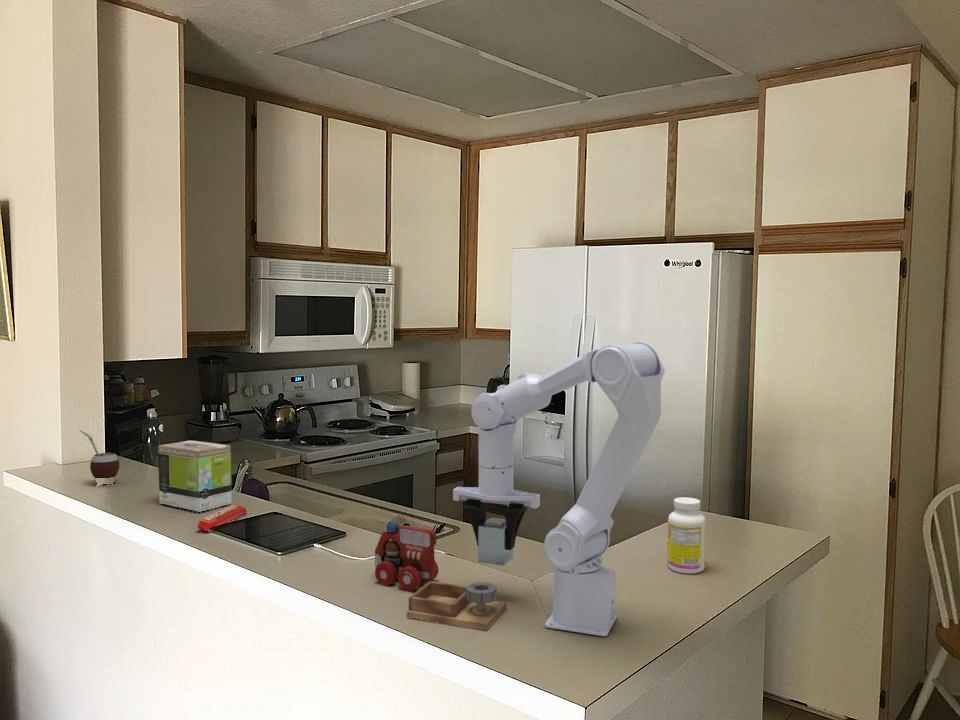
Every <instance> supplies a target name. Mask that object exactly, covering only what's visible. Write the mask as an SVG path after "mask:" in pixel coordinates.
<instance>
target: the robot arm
mask: <svg viewBox="0 0 960 720" xmlns="http://www.w3.org/2000/svg"><path fill="white" fill-rule="evenodd" d="M665 372H666V369H665V367H664V365H663V363H662V359H661V358H660V356H659V354H658V352H657V351H656V349H655V348H654V347H653V346H651V345H650V343H646V342H642V341H641V342H634V343H629V344H627V343H626V344H606V345H603V346H601V347H600V348H598V349H593V350H590V351H587V352H586V353H583V354H581V355H579V356H578V357H576V358H574V359H572V360H570V361H568V362H567V363H565V364H563V365H561V366H560V367H558V368H556V369H553V370H552V371H551V372H548V373H547V374H545V375H540V374H538V373H535V372H533V373H529V372H522V373H520V374H519V375H518V376H517V378H518V379H517V380H515V381H513V382H511V383H509V384H501V385H499V386H497V387H496V388H497V390H496V391H495V392H491V393H489V392H482V393H480V394H479V395H478V396H477V397H475V399H474V400H473V402H472V404H471V408H470V411H471V418H472V420H473V422H474V424H475V425H476V426H477V427H478V487H477V486H474V487H470V486H465V487H464V486H457V487H455V488H453V490H452V501H456V502H460V501H466V502H465V505H464V506H463V511H464V513H465V514H466V516H467V518H468V520H469V521H470V523H471V524H470V525H471V526H472V529H473V533H474V537H475V541H476V546H477V547H478V531H479V525H481V524H482V523H483V522H485V521H486V520H487V518H486V517H487V511H488V509H487V508H488V504H498V505H508V506H507V507H506V508H505V509H503V510H504V519H506V529H507V535H506V547H507V550H511V549H513V550H514V548H515V546H516V545H515V544H516V539H517V534H518V531H519V529H520V526H521V523H522V520H523V518H524V516H525V514H526V512H527V510H528V507H529V508H530V509H538V508H539V507H540V506H541V494H540V493H533V492H528V491H527V492H526V491H523V490H522V491H521V490H517V489H514V435H515V433H516V426H517V423H518V422H519V421H520V420H521V419H522V418H525V417H527V416H529V415H531V414H533V413H536V412H538V411H540V410H542V409H544V408H547V407H548V406H549V405H550V403H551V401H552V396H553V395H556V394H559V393H561V392H562V391H566V390H568V389H570V388H573V387H575V386H579V385H580V384H583V383H586V382H589V383H597V384H598V386H599V387H600V388H601V390H602V391H603V392H604V394H605V395H606V396H607V397H608V399H609V401H611V403H612V404H613V406H614V408H615V409H616V412H617V414H618V415H617V419H616V421H615V423H614V425H613V426H612V429H611V431H610V433H609V436H608V437H607V439H606V440H605V443H604V446H603V447H602V449H601V451H600V453H599V456H598V458H597V460H596V462H595V464H594V466H593V468H592V470H591V472H590V474H589V476H588V478H587V481H586V482H585V484H584V486H583V488H582V490H581V492H580V494H579V497H578V499H577V501H576V502H575V504H574V505H572V507H571V508H570V509H569V510H568V511H567V512H566V513H565V514H564V515H563V516H562V517H561V518H560V520H559V523H558V524H557V525H556V527H554V528H552V529H551V530H550V531H549V532H548V533H547V534H546V536H545V538H544V543H543V547H544V553H545V556H546V558H547V560H548V561H549V562H550V564H551V569H553V577H552V578H553V584H552V586H553V587H552V588H553V589H552V613H551V615H550V616H549V617H548V619H547V620H546V621H545V623H544V627H545V628H548V629H549V628H550V629H554V630H555V629H556V630H561V631H568V632H575V633H580V634H587V635H592V636H593V635H594V636H597V637H599V636H601V637H607V636H608V635H609V633H610V631H611V629H612V627H613V625H614V623H615V621H616V620H617V617H618V616H617V572H616V570H615V569H611V568H607V567H605V566H603V565H602V562H603V554H605V553H606V551H607V550H608V549H609V545H610V543H611V542H610V541H611V540H610V539H611V538H610V536H611V530H612V527H613V526H614V519H612V517H611V515H612V513H613V512H614V509H615V507H616V505H617V503H618V501H619V499H620V497H621V495H622V494H623V491H624V489H625V488H626V485H628V483H629V480H630V478H631V476H632V473H634V471H635V468H636V465H638V462H639V461H640V458H641V457H642V455H643V452H644V450H645V448H646V447H647V444H648V442H649V440H650V439H651V437H652V434H653V433H654V431H655V429H656V427H657V425H658V423H659V422H660V418H661V413H662V412H661V411H662V410H661V408H662V407H661V406H662V405H661V403H662V401H661V400H662V399H661V397H662V396H661V395H662V392H661V391H662V379H663V377H664V374H665Z"/></svg>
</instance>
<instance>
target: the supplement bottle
mask: <svg viewBox="0 0 960 720" xmlns="http://www.w3.org/2000/svg"><path fill="white" fill-rule="evenodd" d="M673 506H674V511H672V512H671V513H670V514H669V515H668V518H667V519H668V520H667V566H668V568H669V569H670V570H672V571H674V572H677V573H682V574H688V575H689V574H690V575H691V574H697V573H702V572H703V570H704V569H705V567H706V566H705V565H706V563H705V562H706V560H705V559H706V558H705V557H706V518H705V516H704V515H703V514H702V513H700V509H701V500H700V499H698V498H694V497H685V496H684V497H683V496H681V497H676V498H674V499H673Z"/></svg>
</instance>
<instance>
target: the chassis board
mask: <svg viewBox="0 0 960 720" xmlns="http://www.w3.org/2000/svg"><path fill="white" fill-rule="evenodd" d="M467 586H468V585H459V584H453V583H447V582H439V581H433V580H431V581H429V582H426V583H425V584H424V585H423V586H421V587H420V588H419V589H417V591H415V592H413V594H411V595H410V596H408V610H407V611H406V618H407V617H411V618H418V619H423V620H428V621H427V622H429V621H434V622H433V623H435V622H438V623H437V624H441V623H443V625H447V624H448V626H455V627H460V628H467V629H473V630H477V631H478V630H479V631H486V632H487V631H488V630H489V629H490V628H491V627H492V626H493V625H494V623H496V621H497V620H498V619H499V618H500V617H501V616H502V615H503V614H504V612H505V611H506V610H507V602H504V601H497V600H494V601H492V602H490V603H484V604H482V603H481V604H480V603H473V602H469V601H468V600H467V599H466V587H467ZM411 618H410V619H411ZM423 620H422V621H423Z"/></svg>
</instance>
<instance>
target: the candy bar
mask: <svg viewBox="0 0 960 720" xmlns="http://www.w3.org/2000/svg"><path fill="white" fill-rule="evenodd" d="M247 513H248V511H247V509H246V508H245V507H244V506H242V505H239V504H236V503H234V504H231V505H228V506H225V507H223V508H222V509H219V510H218V511H215V512H213V513H211V514H209V515H207V516H204V517H203V518H201V519H200V520H199V522H198V524H197V528H198V529H199V530H201V529H203V530H202V531H204V530H206V531H208V530H209V529H210V528H212V527H215V526H219V525H222V524H224V523H227V522H229V521H232V520H235V519H237V518H239V517H241V516H243V515H244V516H246V514H247ZM244 516H243V517H244ZM241 518H242V517H241ZM239 519H240V518H239ZM237 520H238V519H237ZM235 521H236V520H235ZM206 531H205V532H206Z"/></svg>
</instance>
